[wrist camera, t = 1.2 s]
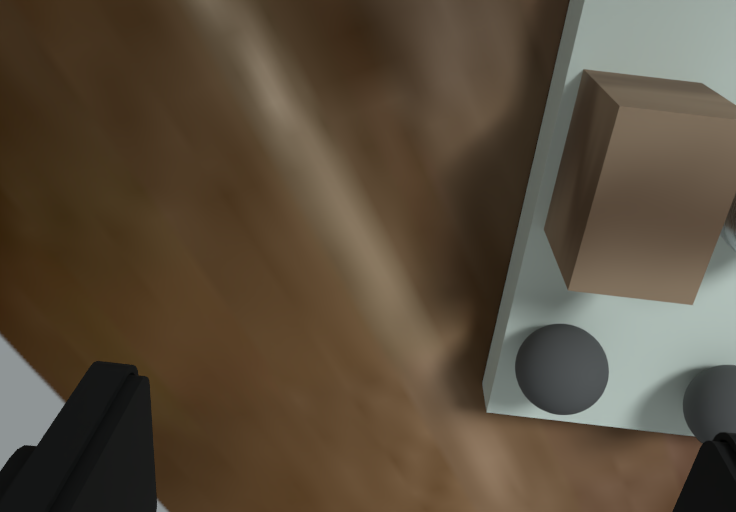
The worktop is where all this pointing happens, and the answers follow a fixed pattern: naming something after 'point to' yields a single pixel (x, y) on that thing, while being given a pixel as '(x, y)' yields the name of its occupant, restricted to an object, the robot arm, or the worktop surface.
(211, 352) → the worktop surface
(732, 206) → the steel ball
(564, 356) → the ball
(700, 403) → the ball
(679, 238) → the block
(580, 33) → the board
